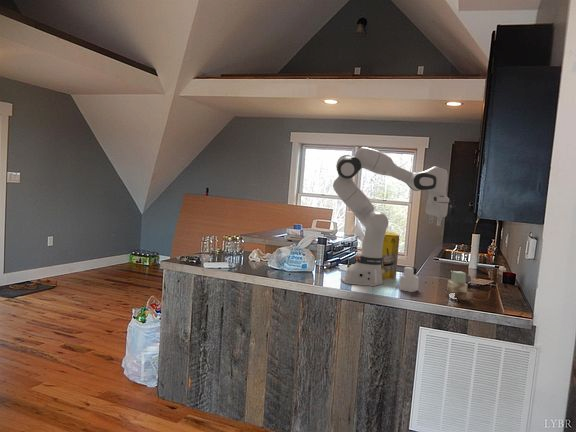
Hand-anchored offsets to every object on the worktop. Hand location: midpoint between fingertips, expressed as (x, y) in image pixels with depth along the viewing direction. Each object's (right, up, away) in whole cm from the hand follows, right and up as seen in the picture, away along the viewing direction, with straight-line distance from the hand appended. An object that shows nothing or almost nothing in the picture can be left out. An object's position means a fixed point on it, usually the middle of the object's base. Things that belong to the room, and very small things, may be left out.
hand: (434, 224), depth 246 cm
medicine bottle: (-15, -34, -4) cm, 37 cm away
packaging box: (-23, -31, +30) cm, 49 cm away
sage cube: (+7, -28, -15) cm, 33 cm away
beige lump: (+6, -36, -14) cm, 39 cm away
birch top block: (+6, -32, -15) cm, 36 cm away
